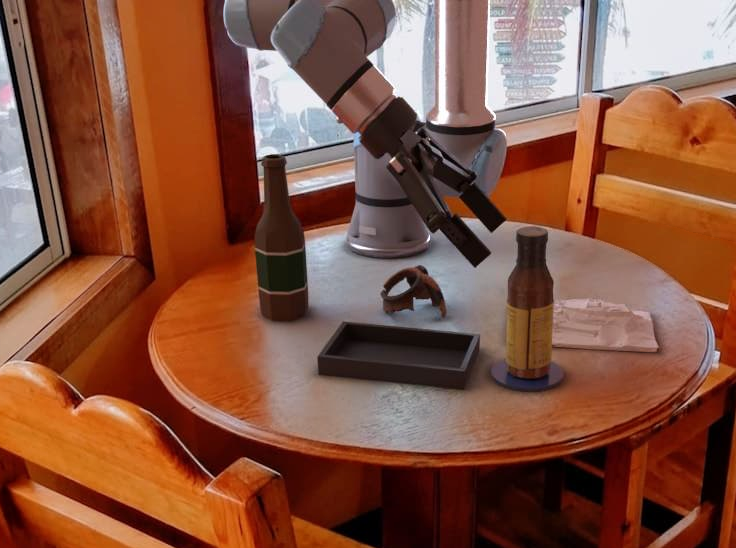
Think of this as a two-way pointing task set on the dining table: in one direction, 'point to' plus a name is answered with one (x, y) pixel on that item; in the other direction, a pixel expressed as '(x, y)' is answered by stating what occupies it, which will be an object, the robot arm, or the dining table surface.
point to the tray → (400, 355)
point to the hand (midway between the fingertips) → (491, 242)
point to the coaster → (527, 385)
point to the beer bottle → (280, 249)
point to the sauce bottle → (530, 307)
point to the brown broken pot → (412, 290)
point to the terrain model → (601, 326)
